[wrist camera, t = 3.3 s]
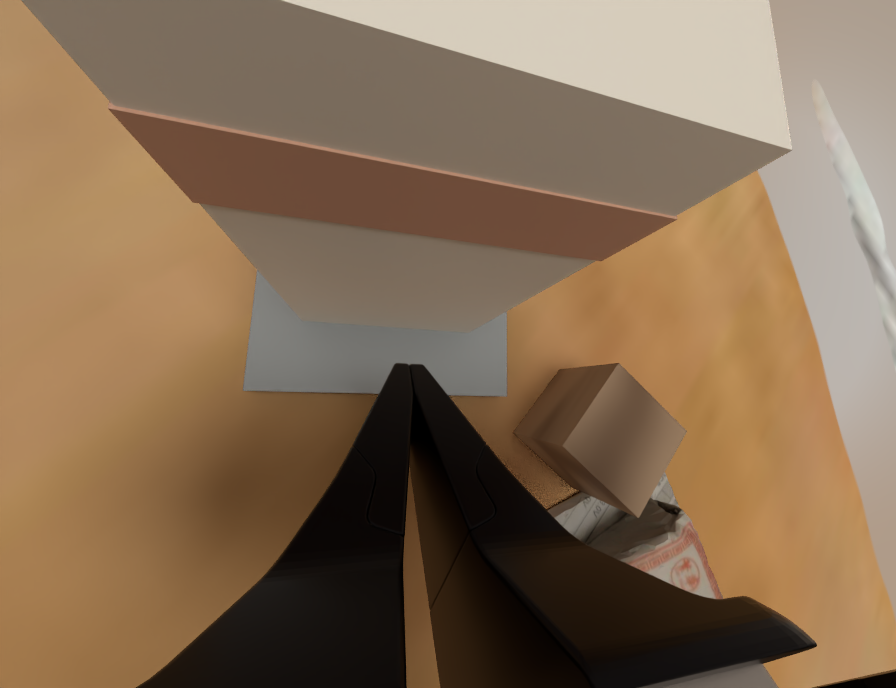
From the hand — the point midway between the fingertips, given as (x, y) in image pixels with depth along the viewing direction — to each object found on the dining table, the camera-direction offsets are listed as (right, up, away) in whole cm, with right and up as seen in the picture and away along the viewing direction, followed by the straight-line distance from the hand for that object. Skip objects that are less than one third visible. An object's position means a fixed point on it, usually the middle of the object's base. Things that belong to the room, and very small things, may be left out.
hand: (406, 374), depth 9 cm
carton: (-2, +5, +8) cm, 10 cm away
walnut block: (+8, -4, +10) cm, 14 cm away
